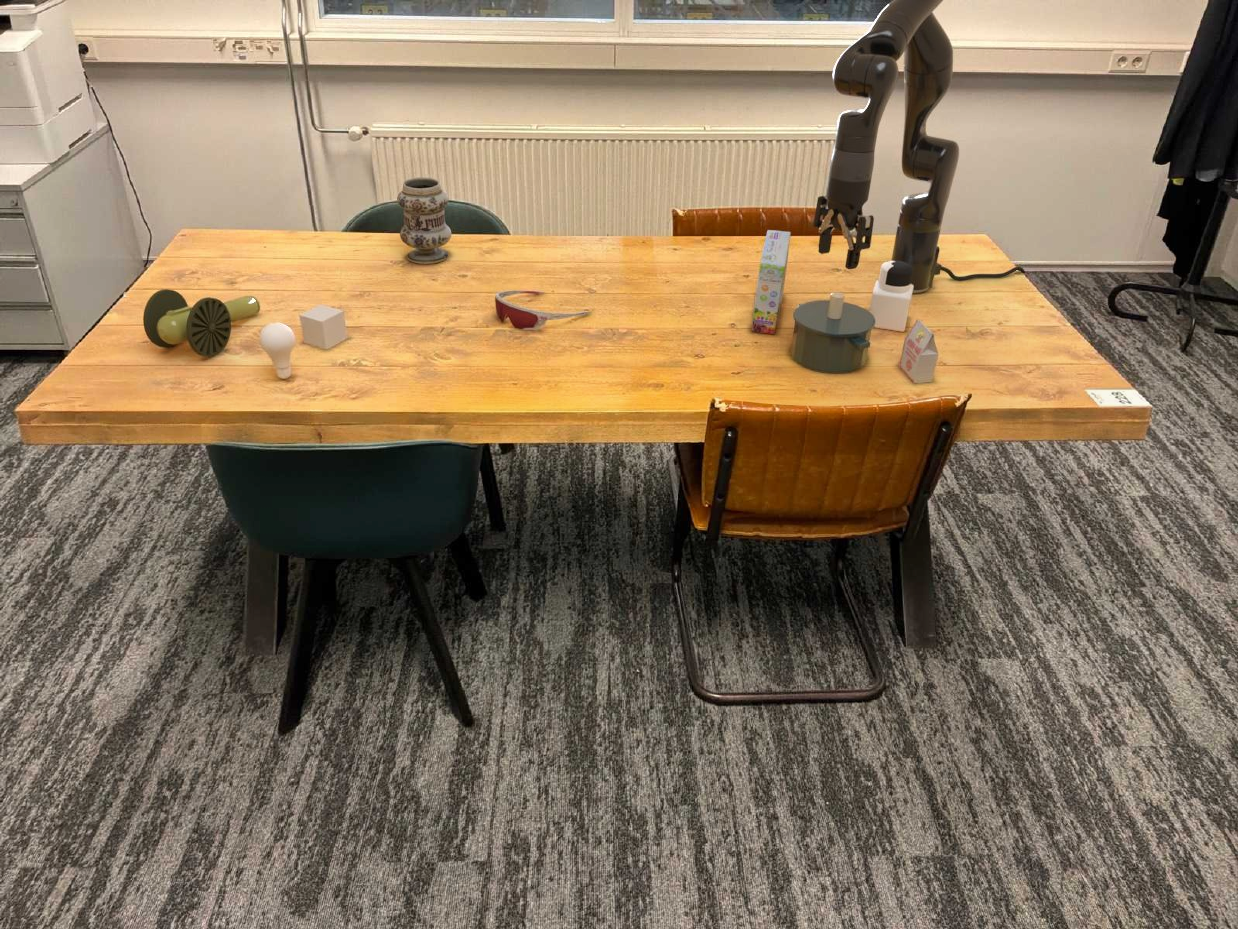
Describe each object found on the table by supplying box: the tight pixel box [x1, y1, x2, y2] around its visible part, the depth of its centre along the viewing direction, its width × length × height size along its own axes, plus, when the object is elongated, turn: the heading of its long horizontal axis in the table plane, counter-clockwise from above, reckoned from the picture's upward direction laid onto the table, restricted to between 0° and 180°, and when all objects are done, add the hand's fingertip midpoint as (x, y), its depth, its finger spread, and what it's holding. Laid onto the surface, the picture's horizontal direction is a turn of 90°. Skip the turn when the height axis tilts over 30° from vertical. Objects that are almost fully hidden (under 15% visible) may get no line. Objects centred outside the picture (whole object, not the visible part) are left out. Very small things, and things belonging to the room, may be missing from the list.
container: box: [868, 260, 914, 333], centre depth 197 cm, size 8×8×13 cm
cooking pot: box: [790, 302, 872, 374], centre depth 185 cm, size 15×20×8 cm
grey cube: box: [298, 304, 349, 350], centre depth 188 cm, size 6×6×6 cm
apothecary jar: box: [396, 177, 452, 265], centre depth 222 cm, size 12×12×18 cm
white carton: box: [898, 318, 939, 384], centre depth 179 cm, size 4×7×10 cm, turn 9°
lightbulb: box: [258, 322, 296, 380], centre depth 173 cm, size 6×6×11 cm
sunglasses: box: [494, 289, 589, 331], centre depth 200 cm, size 17×17×5 cm
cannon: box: [142, 288, 261, 358], centre depth 186 cm, size 25×12×11 cm, turn 160°
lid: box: [792, 291, 875, 337], centre depth 181 cm, size 16×16×6 cm
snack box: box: [750, 229, 792, 335], centre depth 199 cm, size 21×6×15 cm, turn 168°
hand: (837, 260), depth 177 cm, fingers open, 8 cm apart
